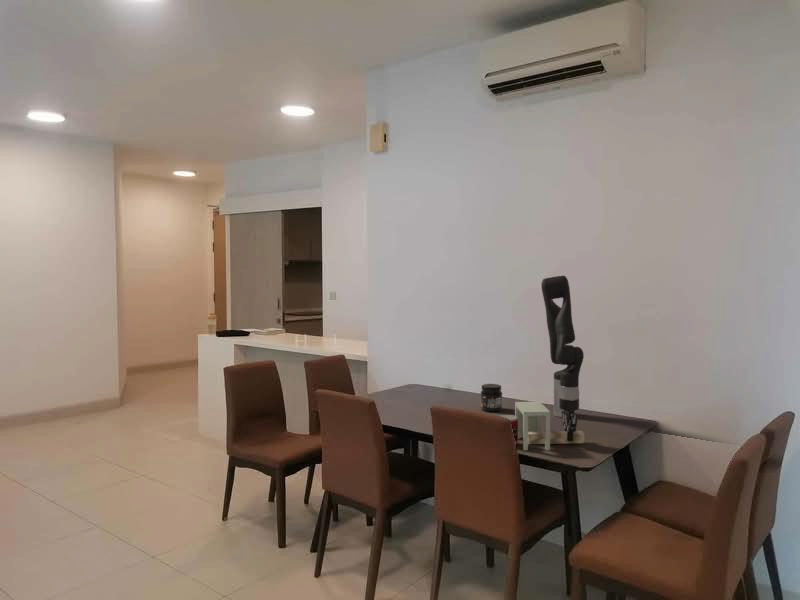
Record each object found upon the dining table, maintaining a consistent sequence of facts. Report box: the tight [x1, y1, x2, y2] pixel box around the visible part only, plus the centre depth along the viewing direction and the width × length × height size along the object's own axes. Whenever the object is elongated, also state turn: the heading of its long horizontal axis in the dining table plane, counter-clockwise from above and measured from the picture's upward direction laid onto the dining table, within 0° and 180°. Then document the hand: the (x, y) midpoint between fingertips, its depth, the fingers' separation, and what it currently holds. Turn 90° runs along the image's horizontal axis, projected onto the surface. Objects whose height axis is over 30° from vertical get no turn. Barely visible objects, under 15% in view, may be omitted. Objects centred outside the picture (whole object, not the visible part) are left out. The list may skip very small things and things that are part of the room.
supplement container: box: [480, 383, 503, 413], centre depth 283 cm, size 10×10×12 cm
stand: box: [514, 401, 551, 452], centre depth 229 cm, size 16×10×15 cm, turn 1°
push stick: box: [528, 430, 585, 445], centre depth 230 cm, size 22×3×4 cm, turn 90°
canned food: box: [499, 414, 519, 445], centre depth 229 cm, size 8×8×11 cm
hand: (569, 439), depth 230 cm, fingers closed on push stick, 3 cm apart
